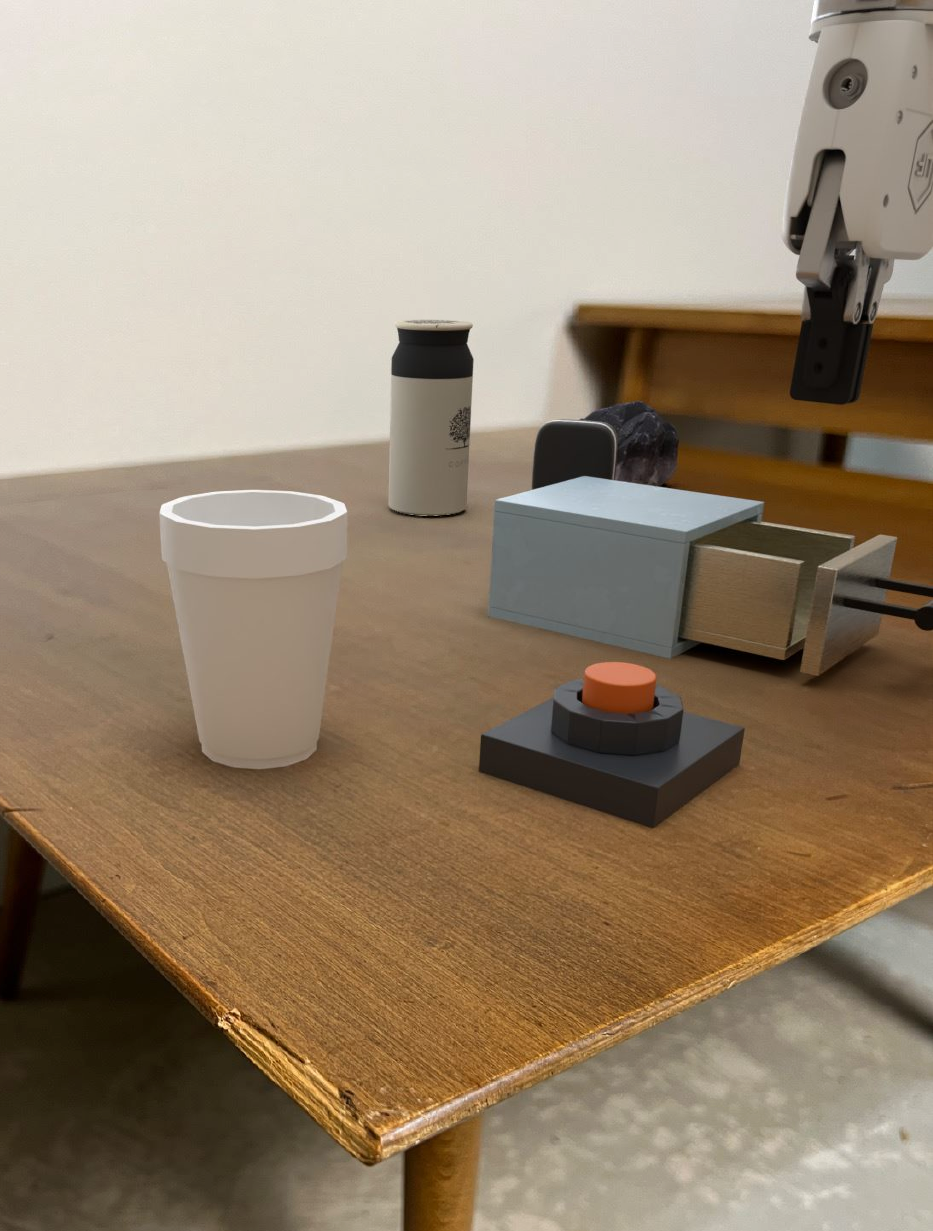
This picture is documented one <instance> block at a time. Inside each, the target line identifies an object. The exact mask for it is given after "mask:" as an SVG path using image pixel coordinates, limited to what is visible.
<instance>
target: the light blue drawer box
mask: <svg viewBox="0 0 933 1231" xmlns="http://www.w3.org/2000/svg"><path fill="white" fill-rule="evenodd" d="M764 506H765V501H761V500H760V501H759V500H752V499H746V498H741V497H740V498H739V497H731V496H726V495H719V494H713V493H712V494H711V493H705V492H698V491H690V490H683V489H676V488H669V487H664V486H663V487H662V486H650V485H643V484H636V483H629V482H622V481H615V480H608V479H601V478H594V477H587V476H583V477H579V478H575V479H571V480H568V481H564V482H560V483H556V484H553V485H549V486H545V487H542V488H538V489H534V490H532V489H530V490H527V491H524V492H520V493H516V494H511V495H508V496H504V497H500V498H497V499H495V500H494V506H493V508H494V509H493V510H494V512H493V524H492V525H493V526H492V541H491V542H492V543H491V560H490V573H489V574H490V578H489V592H488V594H489V595H488V609H487V617H488V618H493V619H499V620H503V621H507V622H511V623H516V624H520V625H525V626H528V627H533V628H538V629H541V630H546V631H550V632H554V633H558V634H563V635H567V636H572V637H575V638H580V639H584V640H588V641H592V642H597V643H602V644H606V645H609V646H614V647H619V648H623V649H627V650H631V651H636V652H640V653H643V654H648V655H653V656H656V657H657V656H658V657H662V658H664V659H665V658H666V659H673V658H674V657H677V656H679V655H681V654H683V653H685V652H687V651H689V650H691V649H693V648H694V647H696V646H699V645H700V644H703V642H698V641H694V640H689V639H685V638H680V637H678V632H679V624H680V616H681V608H682V601H683V593H684V585H685V577H686V569H687V561H688V553H689V546H690V541H693V540H695V539H698V538H700V537H703V536H705V535H708V534H710V533H713V532H715V531H718V530H720V529H723V528H726V527H728V526H731V525H733V524H736V523H738V522H741V521H743V520H746V519H749V520H755V521H762V519H763V513H764Z"/></svg>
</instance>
